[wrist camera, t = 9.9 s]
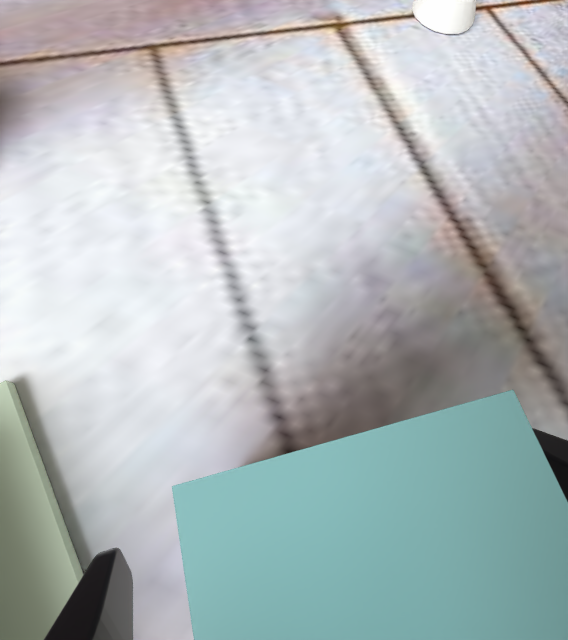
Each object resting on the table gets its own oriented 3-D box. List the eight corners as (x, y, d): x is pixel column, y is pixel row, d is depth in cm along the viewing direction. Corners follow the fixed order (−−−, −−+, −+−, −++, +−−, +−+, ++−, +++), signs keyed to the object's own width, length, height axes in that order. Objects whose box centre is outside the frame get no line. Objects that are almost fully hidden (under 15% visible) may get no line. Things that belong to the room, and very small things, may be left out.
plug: (370, 566, 15) (741, 861, 4) (251, 609, 14) (271, 1167, 3) (333, 441, 17) (513, 389, 5) (224, 472, 16) (172, 486, 5)
